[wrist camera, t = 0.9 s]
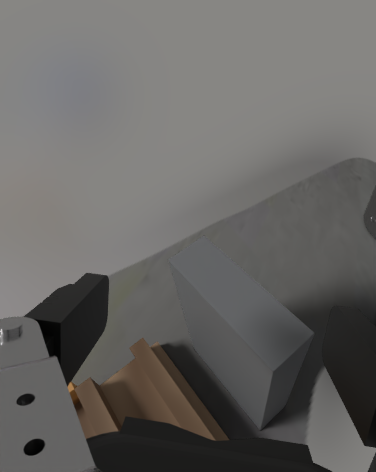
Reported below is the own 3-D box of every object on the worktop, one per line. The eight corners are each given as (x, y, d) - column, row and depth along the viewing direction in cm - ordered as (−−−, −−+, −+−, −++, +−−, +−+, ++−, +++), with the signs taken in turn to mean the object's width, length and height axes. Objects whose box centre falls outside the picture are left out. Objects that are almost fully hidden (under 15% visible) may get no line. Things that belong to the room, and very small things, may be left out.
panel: (217, 330, 33) (204, 235, 22) (285, 405, 28) (314, 333, 17) (194, 348, 32) (167, 259, 21) (260, 430, 27) (273, 371, 16)
